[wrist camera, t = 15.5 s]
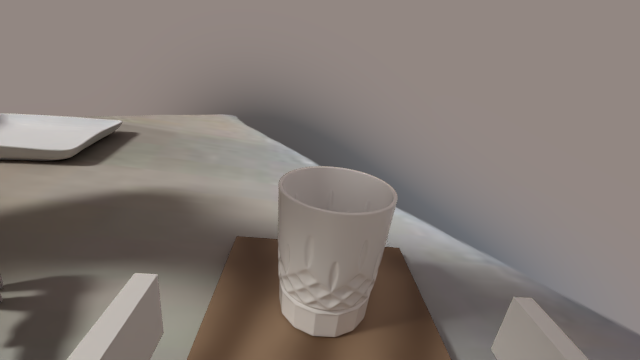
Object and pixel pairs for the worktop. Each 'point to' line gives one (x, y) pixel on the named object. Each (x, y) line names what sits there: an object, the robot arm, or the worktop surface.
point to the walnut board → (295, 345)
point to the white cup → (330, 245)
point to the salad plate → (49, 135)
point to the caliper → (0, 286)
